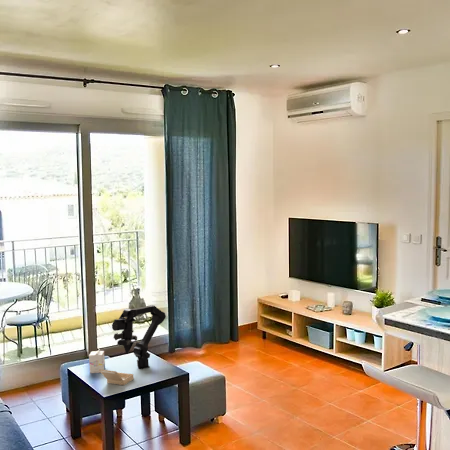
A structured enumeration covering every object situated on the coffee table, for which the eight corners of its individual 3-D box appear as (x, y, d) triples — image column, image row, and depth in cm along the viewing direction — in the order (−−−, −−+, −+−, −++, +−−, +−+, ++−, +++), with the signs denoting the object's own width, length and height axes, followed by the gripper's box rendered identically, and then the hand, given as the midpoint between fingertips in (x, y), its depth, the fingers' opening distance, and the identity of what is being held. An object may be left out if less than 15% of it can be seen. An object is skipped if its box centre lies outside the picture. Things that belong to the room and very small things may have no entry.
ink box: (92, 368, 325) (90, 348, 324) (105, 367, 326) (104, 347, 325) (89, 373, 317) (88, 352, 316) (103, 372, 317) (101, 351, 316)
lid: (99, 369, 292) (98, 370, 292) (116, 371, 287) (115, 372, 287) (106, 378, 299) (106, 379, 298) (123, 380, 294) (122, 381, 293)
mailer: (117, 377, 308) (116, 372, 308) (133, 379, 303) (133, 374, 303) (107, 383, 299) (106, 378, 299) (123, 385, 294) (123, 380, 294)
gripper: (121, 325, 325) (120, 349, 325) (109, 330, 307) (108, 356, 306) (138, 326, 323) (137, 351, 323) (127, 332, 305) (125, 357, 304)
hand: (127, 354), depth 314 cm, fingers closed
